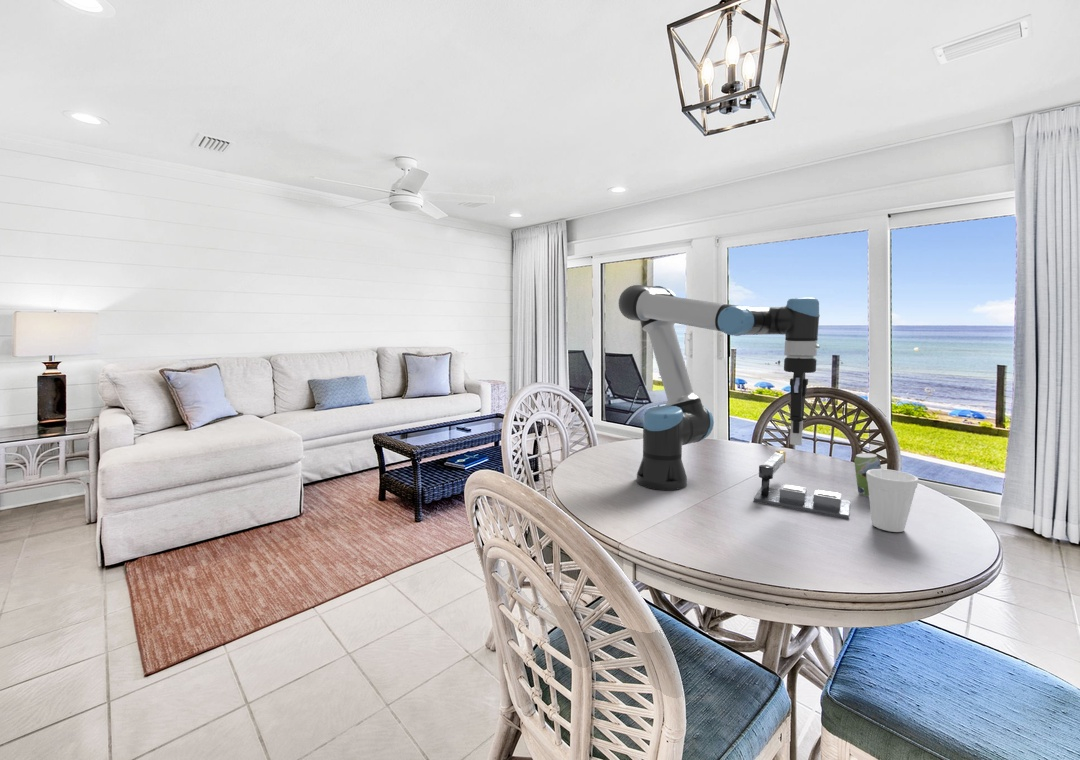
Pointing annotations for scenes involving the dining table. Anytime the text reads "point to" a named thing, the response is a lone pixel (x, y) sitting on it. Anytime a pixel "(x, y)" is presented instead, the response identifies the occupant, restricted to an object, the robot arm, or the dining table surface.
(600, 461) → the dining table surface
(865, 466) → the beverage can
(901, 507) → the cup
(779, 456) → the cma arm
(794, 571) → the dining table surface
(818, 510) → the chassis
